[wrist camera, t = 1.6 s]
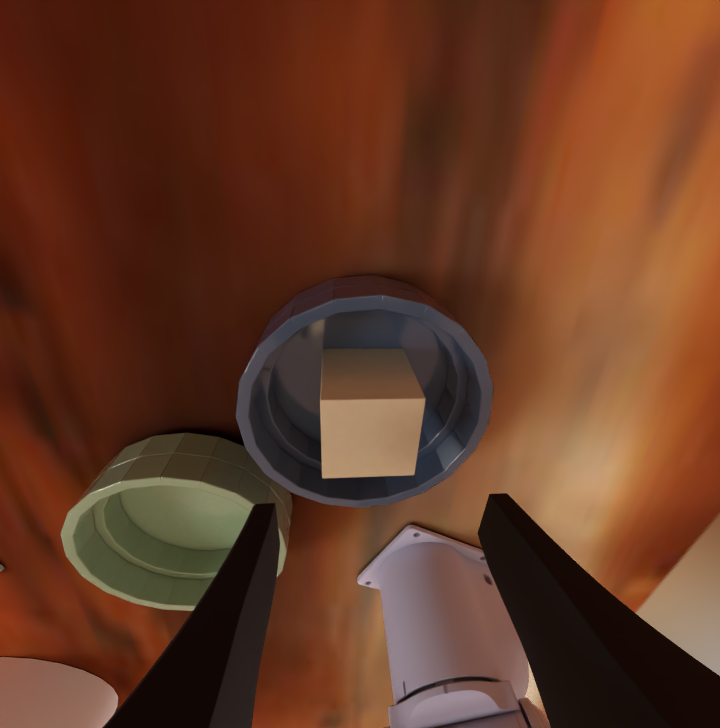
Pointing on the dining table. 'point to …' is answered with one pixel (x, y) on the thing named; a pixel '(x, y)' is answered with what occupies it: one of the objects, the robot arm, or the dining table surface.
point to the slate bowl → (361, 331)
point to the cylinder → (52, 696)
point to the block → (369, 413)
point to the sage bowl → (168, 518)
